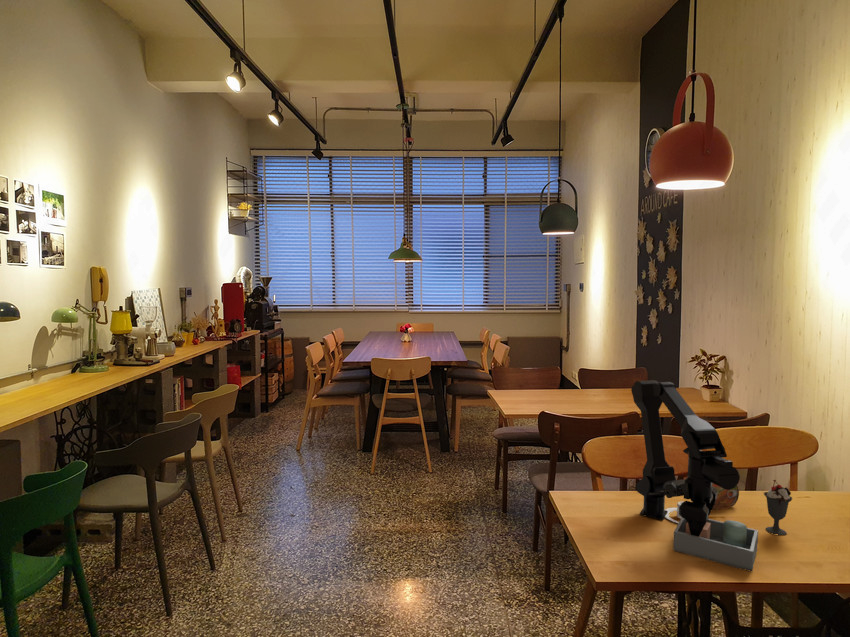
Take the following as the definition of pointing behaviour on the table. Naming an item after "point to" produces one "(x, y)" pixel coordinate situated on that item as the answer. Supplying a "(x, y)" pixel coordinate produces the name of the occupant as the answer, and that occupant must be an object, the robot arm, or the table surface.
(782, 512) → the sundae
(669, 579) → the table surface
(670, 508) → the candle holder
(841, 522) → the table surface
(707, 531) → the cube
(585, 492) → the table surface
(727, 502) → the tin
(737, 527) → the cylinder
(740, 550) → the tote
